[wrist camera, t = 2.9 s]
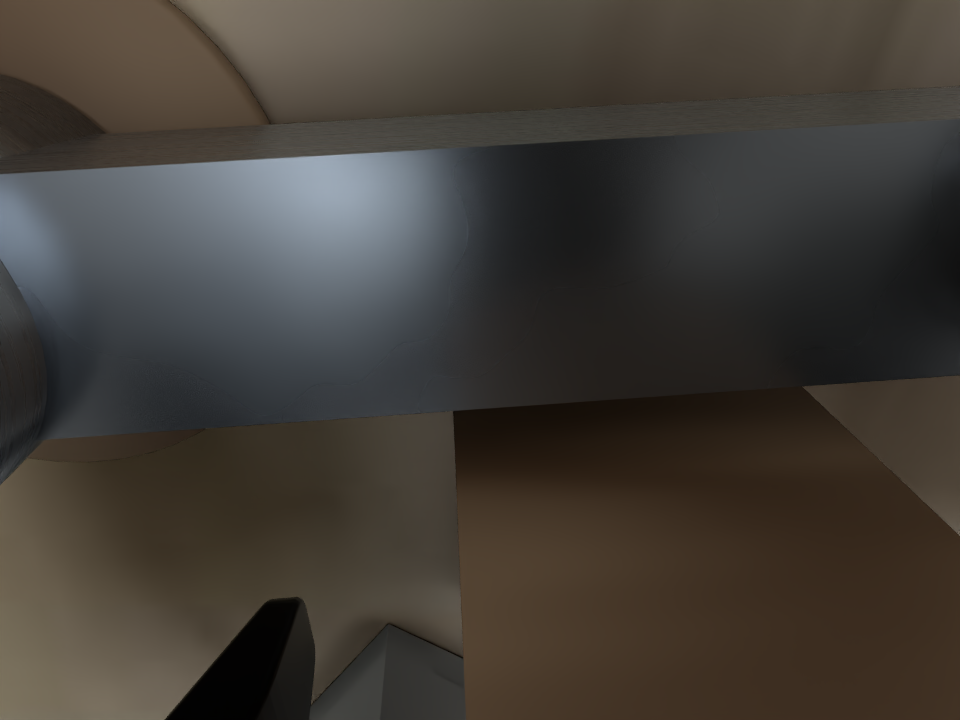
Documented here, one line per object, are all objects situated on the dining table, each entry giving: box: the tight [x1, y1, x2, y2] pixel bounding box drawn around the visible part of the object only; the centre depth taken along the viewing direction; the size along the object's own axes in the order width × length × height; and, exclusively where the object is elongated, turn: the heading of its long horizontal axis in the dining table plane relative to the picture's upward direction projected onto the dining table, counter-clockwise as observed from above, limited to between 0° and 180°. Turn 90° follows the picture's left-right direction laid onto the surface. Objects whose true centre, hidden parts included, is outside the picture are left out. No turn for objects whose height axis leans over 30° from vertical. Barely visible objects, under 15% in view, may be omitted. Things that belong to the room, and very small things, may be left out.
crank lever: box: [0, 74, 960, 485], centre depth 6 cm, size 14×4×4 cm, turn 93°
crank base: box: [0, 0, 270, 462], centre depth 10 cm, size 6×20×1 cm, turn 53°
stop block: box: [453, 386, 960, 720], centre depth 7 cm, size 4×5×8 cm
